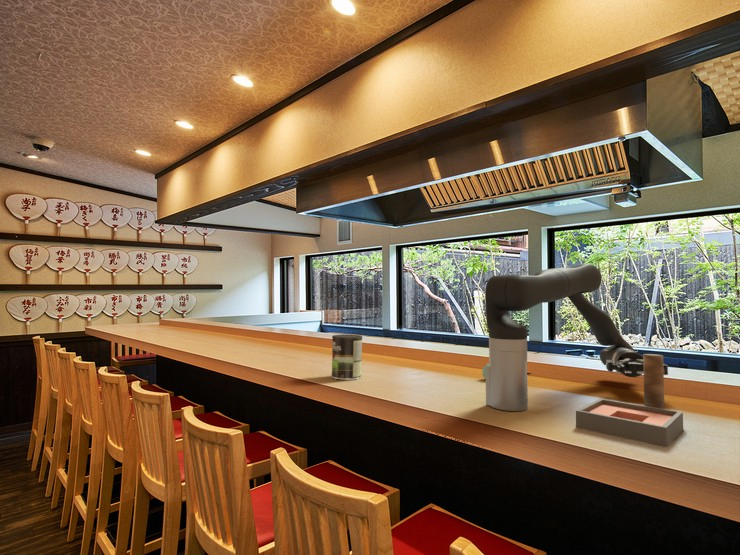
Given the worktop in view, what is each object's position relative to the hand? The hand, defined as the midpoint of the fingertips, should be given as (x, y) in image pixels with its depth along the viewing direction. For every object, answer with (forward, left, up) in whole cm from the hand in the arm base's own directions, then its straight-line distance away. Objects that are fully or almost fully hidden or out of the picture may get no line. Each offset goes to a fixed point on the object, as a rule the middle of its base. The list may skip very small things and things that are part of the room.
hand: (642, 371), depth 111 cm
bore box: (+4, -27, -8) cm, 29 cm away
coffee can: (-78, -35, -9) cm, 86 cm away
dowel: (+5, -10, -8) cm, 14 cm away
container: (-42, +10, -9) cm, 44 cm away
